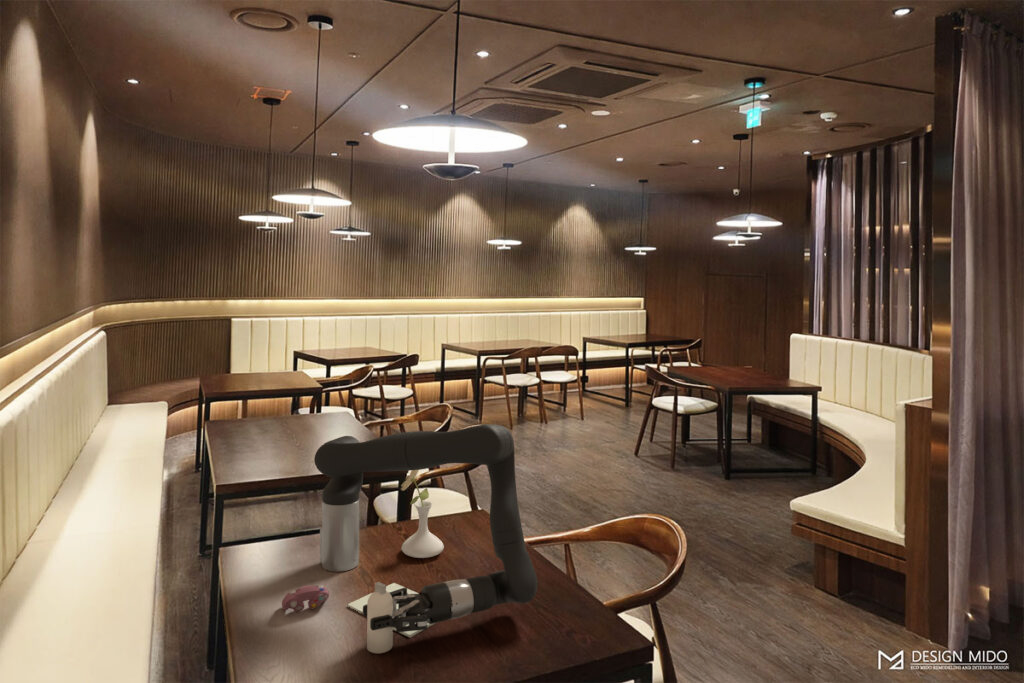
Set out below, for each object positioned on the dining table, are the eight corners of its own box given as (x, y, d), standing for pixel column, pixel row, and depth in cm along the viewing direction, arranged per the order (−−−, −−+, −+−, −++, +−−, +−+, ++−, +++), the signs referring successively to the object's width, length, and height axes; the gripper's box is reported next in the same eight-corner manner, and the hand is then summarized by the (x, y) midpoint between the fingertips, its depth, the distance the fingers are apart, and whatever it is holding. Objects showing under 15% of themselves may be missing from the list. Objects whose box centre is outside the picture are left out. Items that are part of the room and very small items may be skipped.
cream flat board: (347, 606, 148) (347, 604, 148) (393, 585, 159) (393, 582, 159) (409, 637, 136) (409, 635, 136) (455, 611, 147) (455, 609, 147)
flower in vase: (421, 541, 186) (423, 455, 184) (452, 552, 179) (454, 462, 177) (387, 556, 175) (389, 465, 173) (418, 568, 169) (420, 473, 166)
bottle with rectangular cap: (361, 647, 130) (362, 584, 129) (380, 636, 134) (381, 576, 133) (378, 656, 127) (379, 592, 126) (397, 645, 131) (398, 583, 130)
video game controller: (283, 621, 144) (285, 600, 140) (280, 604, 147) (282, 583, 144) (328, 612, 148) (332, 591, 145) (324, 595, 152) (328, 575, 148)
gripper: (435, 569, 143) (357, 584, 135) (461, 598, 130) (377, 616, 122) (434, 602, 144) (357, 618, 136) (460, 634, 131) (376, 654, 123)
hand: (367, 617), depth 129 cm, fingers closed on bottle with rectangular cap, 5 cm apart
